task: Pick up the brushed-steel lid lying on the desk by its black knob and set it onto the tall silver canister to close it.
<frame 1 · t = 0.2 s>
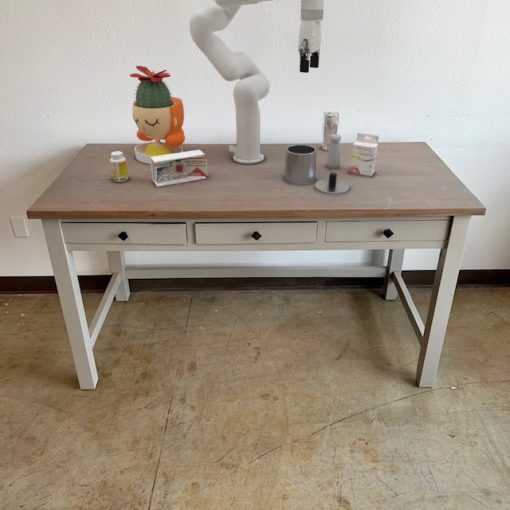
hand: (309, 69, 169), 37 cm above the table, tool pointing down, fingers open, 9 cm apart
canister: (299, 179, 179), on the table
supplement bottle: (120, 180, 178), on the table
canister lid: (332, 187, 171), point 1 cm above the table
salt shaker: (332, 168, 189), on the table
potted cactus: (162, 155, 201), on the table
ink cartridge box: (361, 174, 184), on the table
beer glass: (328, 149, 209), on the table
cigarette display: (181, 180, 178), on the table
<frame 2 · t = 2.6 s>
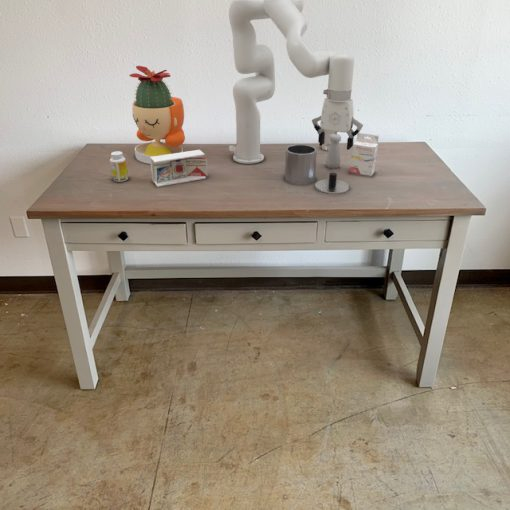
hand: (335, 146, 164), 15 cm above the table, tool pointing down, fingers open, 9 cm apart
nothing on the table moved.
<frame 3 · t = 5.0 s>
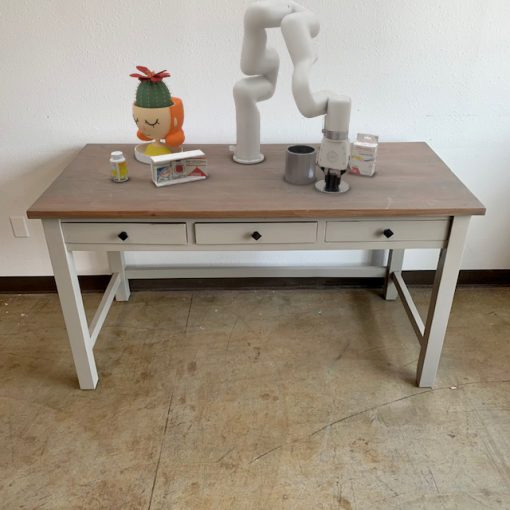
hand: (332, 185, 170), 1 cm above the table, tool pointing down, fingers closed on canister lid, 2 cm apart
canister lid: (332, 187, 171), point 1 cm above the table, touching gripper
everything else where it was.
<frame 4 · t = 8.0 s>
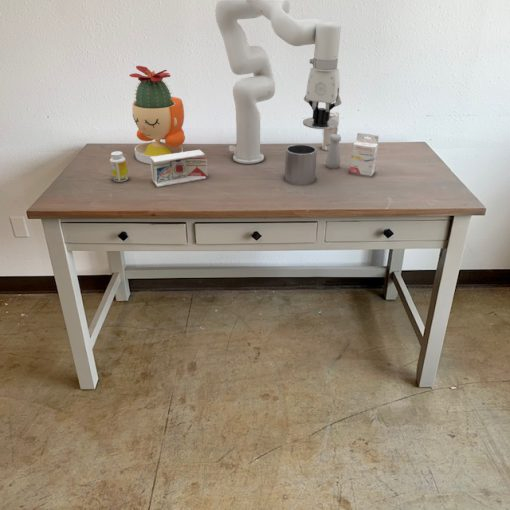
hand: (320, 121, 163), 23 cm above the table, tool pointing down, fingers closed on canister lid, 2 cm apart
canister lid: (320, 123, 163), point 22 cm above the table, touching gripper
everything else where it was.
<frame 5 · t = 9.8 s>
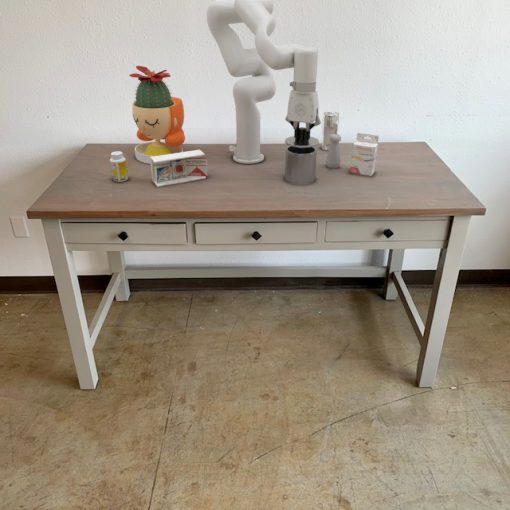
hand: (301, 140, 171), 15 cm above the table, tool pointing down, fingers closed on canister lid, 2 cm apart
canister lid: (301, 142, 171), point 14 cm above the table, touching gripper
everything else where it was.
when the fingers open (12 cm above the table, at t = 10.9 s): canister lid stays where it is, resting on canister.
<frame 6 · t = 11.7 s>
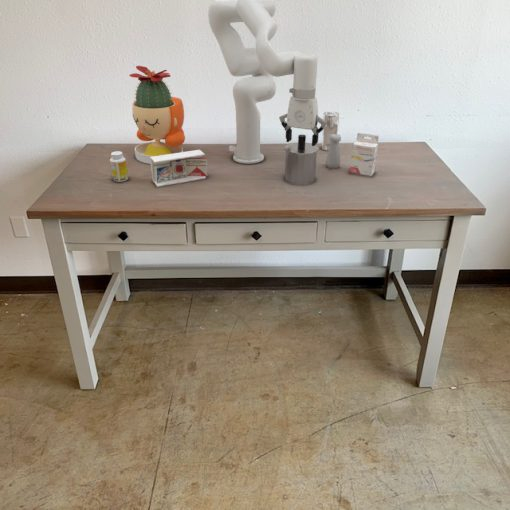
hand: (301, 143, 171), 14 cm above the table, tool pointing down, fingers open, 9 cm apart
canister lid: (301, 149, 173), point 11 cm above the table, touching canister
everything else where it was.
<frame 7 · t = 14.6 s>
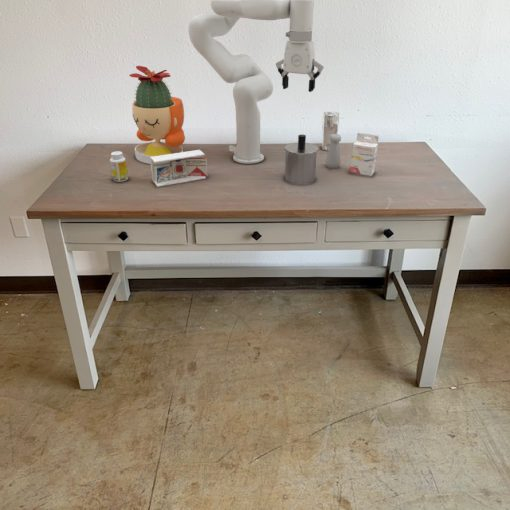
hand: (298, 89, 170), 30 cm above the table, tool pointing down, fingers open, 9 cm apart
nothing on the table moved.
at the end: canister lid 0.1 cm off-centre on the canister, point 11.5 cm above the canister's base; canister lid tilted 0° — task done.
